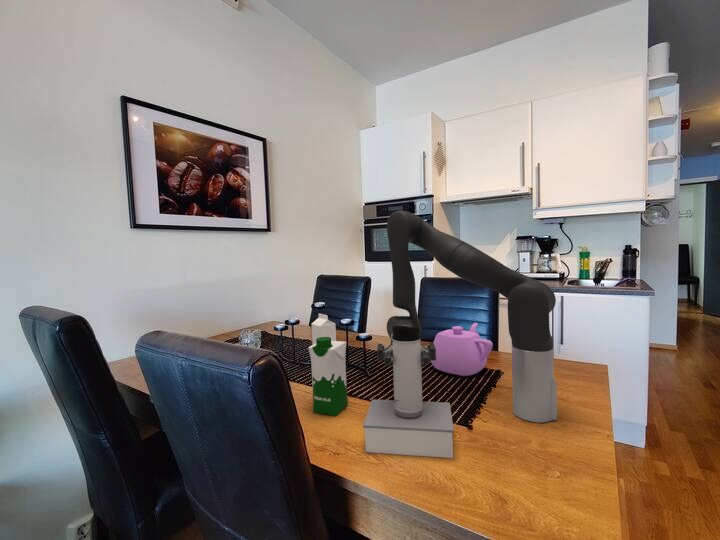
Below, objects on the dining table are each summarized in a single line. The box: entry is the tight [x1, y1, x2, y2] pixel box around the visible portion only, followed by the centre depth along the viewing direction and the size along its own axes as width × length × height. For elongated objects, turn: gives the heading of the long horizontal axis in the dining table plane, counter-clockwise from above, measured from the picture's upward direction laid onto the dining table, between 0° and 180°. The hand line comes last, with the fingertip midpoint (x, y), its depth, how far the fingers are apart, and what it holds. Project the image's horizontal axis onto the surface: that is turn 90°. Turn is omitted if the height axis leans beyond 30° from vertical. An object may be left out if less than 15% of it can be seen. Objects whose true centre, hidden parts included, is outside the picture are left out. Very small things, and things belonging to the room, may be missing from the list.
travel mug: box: [392, 325, 423, 418], centre depth 77 cm, size 6×7×20 cm
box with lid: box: [362, 399, 455, 459], centre depth 77 cm, size 19×13×6 cm
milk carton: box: [308, 337, 349, 417], centre depth 94 cm, size 9×9×20 cm
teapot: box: [430, 322, 494, 377], centre depth 120 cm, size 23×21×15 cm
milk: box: [311, 313, 337, 345], centre depth 117 cm, size 6×6×22 cm
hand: (407, 361), depth 74 cm, fingers open, 7 cm apart
